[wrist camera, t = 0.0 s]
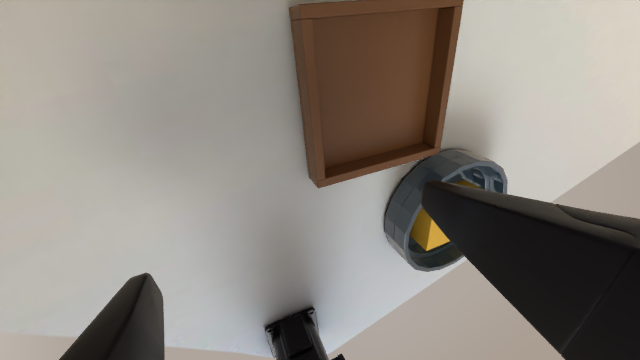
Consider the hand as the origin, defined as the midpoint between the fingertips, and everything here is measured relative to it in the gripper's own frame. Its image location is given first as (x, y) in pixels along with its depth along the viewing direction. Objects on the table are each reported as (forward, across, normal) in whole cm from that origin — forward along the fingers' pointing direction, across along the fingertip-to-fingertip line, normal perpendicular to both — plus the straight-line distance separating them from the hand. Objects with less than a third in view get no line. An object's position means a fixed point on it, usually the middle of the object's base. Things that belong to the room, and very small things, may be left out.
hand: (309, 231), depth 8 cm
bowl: (+15, -21, +15) cm, 30 cm away
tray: (+15, -12, 0) cm, 19 cm away
